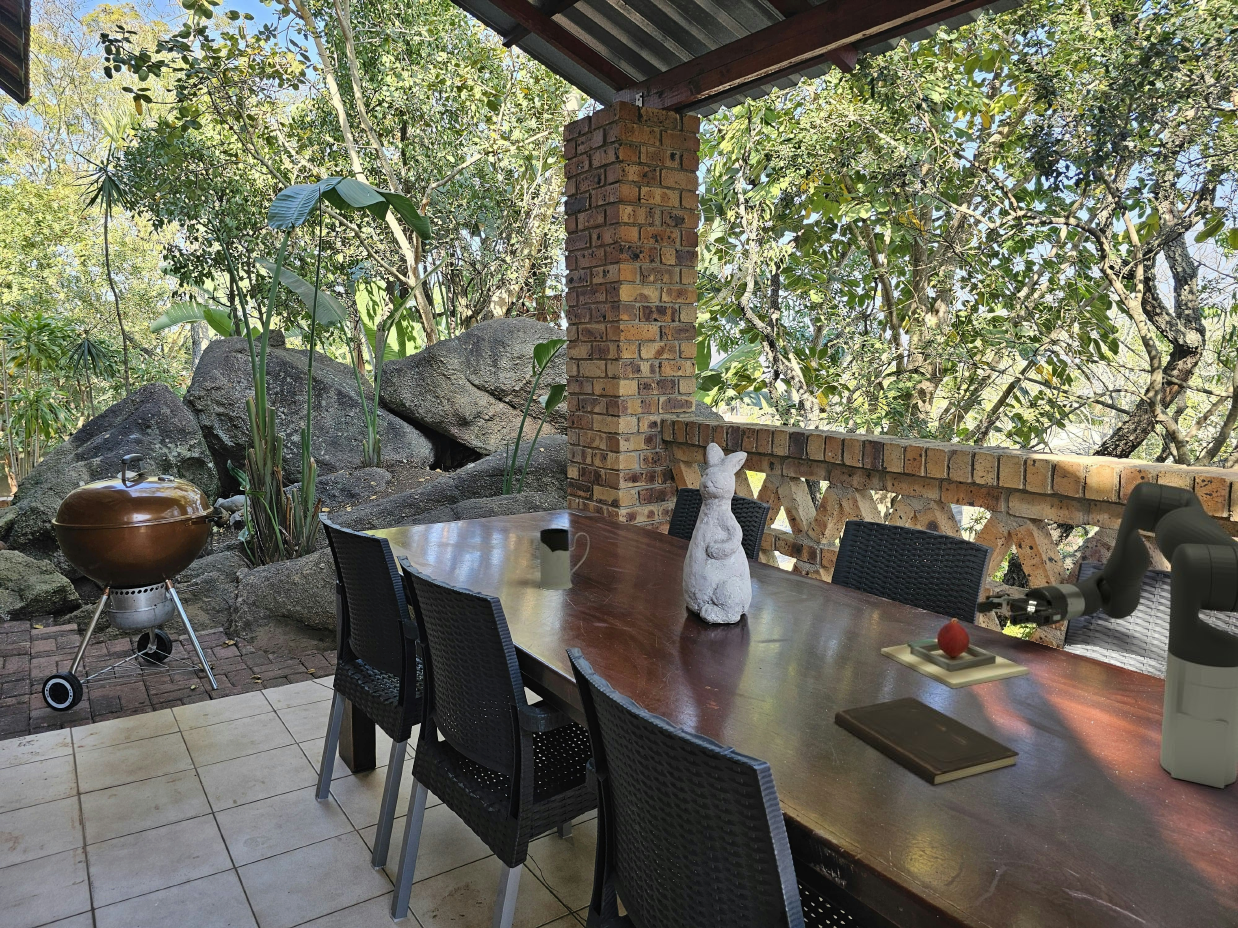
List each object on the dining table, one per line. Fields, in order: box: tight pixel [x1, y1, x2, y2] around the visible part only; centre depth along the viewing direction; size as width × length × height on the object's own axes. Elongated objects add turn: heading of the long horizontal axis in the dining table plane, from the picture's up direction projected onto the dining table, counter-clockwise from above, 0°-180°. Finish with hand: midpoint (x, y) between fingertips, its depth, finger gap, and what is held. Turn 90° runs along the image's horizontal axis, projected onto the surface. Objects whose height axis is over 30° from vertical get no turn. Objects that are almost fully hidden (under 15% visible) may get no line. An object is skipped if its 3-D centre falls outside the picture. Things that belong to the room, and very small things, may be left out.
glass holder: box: [539, 527, 590, 591], centre depth 227 cm, size 9×14×15 cm, turn 115°
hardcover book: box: [834, 696, 1020, 786], centre depth 134 cm, size 16×23×2 cm
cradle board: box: [880, 638, 1029, 689], centre depth 168 cm, size 20×18×2 cm
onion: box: [936, 618, 970, 658], centre depth 167 cm, size 6×6×8 cm
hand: (994, 613), depth 170 cm, fingers open, 8 cm apart
